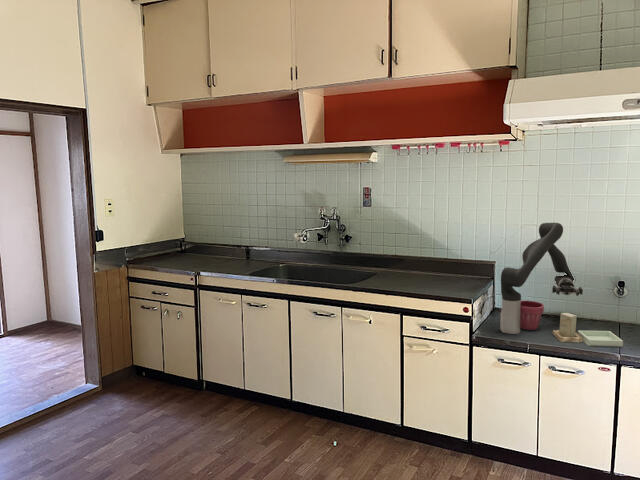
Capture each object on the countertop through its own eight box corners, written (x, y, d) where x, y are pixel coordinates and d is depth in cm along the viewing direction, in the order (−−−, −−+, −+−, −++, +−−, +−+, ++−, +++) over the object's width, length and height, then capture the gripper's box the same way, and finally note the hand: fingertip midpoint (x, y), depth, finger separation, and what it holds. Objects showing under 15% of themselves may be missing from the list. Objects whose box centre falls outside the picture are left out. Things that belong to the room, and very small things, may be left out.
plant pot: (539, 333, 265) (540, 308, 264) (511, 328, 273) (512, 305, 271) (545, 325, 277) (546, 302, 275) (518, 322, 285) (518, 299, 283)
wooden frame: (560, 341, 251) (560, 337, 251) (552, 334, 263) (552, 330, 263) (582, 342, 250) (582, 338, 250) (573, 334, 262) (573, 330, 262)
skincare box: (558, 337, 258) (559, 313, 257) (564, 335, 260) (566, 312, 259) (569, 340, 253) (570, 316, 251) (575, 339, 255) (577, 315, 253)
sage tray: (588, 346, 244) (589, 340, 244) (577, 336, 259) (577, 330, 259) (622, 347, 242) (623, 340, 242) (609, 336, 257) (609, 331, 257)
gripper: (552, 278, 281) (552, 285, 266) (581, 280, 276) (583, 287, 261) (551, 292, 282) (552, 299, 267) (580, 293, 277) (583, 301, 262)
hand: (567, 293), depth 264 cm, fingers open, 8 cm apart
